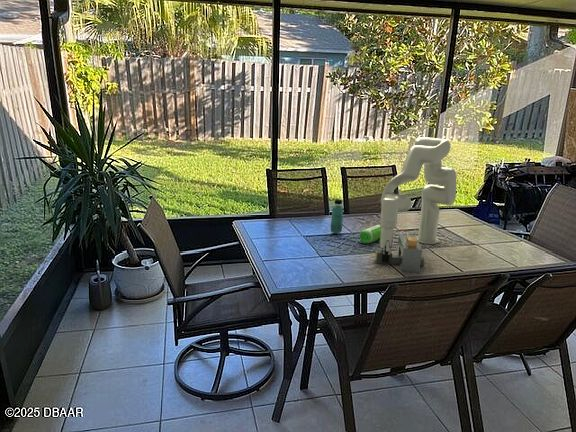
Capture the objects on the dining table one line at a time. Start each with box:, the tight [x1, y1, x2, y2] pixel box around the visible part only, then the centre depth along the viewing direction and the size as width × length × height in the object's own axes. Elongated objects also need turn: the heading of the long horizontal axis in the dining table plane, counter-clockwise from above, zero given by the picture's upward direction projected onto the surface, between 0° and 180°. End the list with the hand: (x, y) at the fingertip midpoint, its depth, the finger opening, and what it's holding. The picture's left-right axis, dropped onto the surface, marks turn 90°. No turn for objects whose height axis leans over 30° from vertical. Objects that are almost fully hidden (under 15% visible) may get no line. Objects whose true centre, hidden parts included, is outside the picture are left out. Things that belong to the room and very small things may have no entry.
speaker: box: [359, 224, 382, 244], centre depth 231 cm, size 18×7×8 cm, turn 138°
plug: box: [371, 248, 425, 267], centre depth 200 cm, size 5×24×5 cm, turn 82°
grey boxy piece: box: [396, 234, 423, 273], centre depth 199 cm, size 20×8×14 cm, turn 172°
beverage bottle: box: [330, 198, 344, 234], centre depth 237 cm, size 6×7×20 cm
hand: (384, 259), depth 202 cm, fingers closed on plug, 5 cm apart
